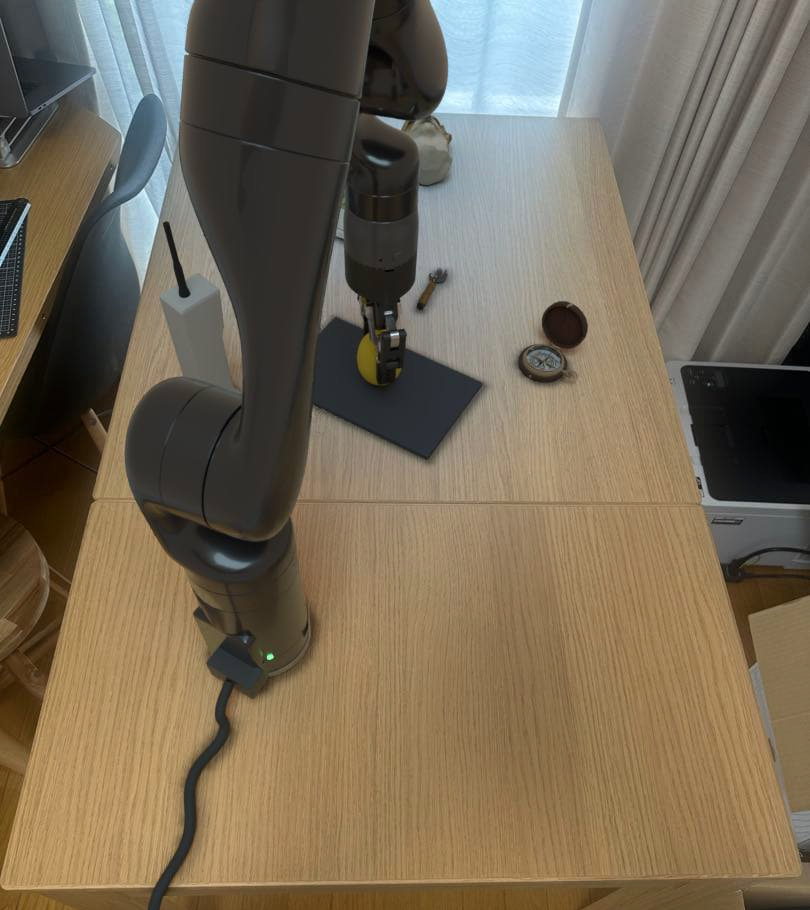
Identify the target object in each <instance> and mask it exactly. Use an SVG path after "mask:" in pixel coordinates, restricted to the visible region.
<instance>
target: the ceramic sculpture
mask: <svg viewBox="0 0 810 910" xmlns="http://www.w3.org/2000/svg"><path fill="white" fill-rule="evenodd" d="M400 130H401V131H403V132H405V133H406V134H408V135H409V136H410V137H412V138H413V139H414V141H415V142H416V144H417V146H418V148H419V152H420V174H419V185H424V186H431V185H433V184H435V183H438V182H440V181H442V180H444V179H445V177H446V176H447V175H448V174H449V172H450V170H451V166H452V163H453V157H452V155H451V153H450V152H449V144H450V143H451V142H452V140H453V138H452V136H453V135H452V134H451V133H449V132H447V131H446V128H445V126H444V124H442V125H441V122H440V120H439V119H438V118H437V117H436V116H435V115H433V114H431V115H429V116H428V117H426V118H424V119H422V120H418V121H406V120H404V122H403V125H402V127H401V129H400Z"/></svg>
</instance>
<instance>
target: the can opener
mask: <svg viewBox="0 0 810 910" xmlns="http://www.w3.org/2000/svg"><path fill="white" fill-rule="evenodd" d="M442 271H443V268H442V267H438V268H437V270H436V272H435V274H434V276H432V275H433V272H430V273H429V274H428V275H427V277H428V279H429V280H430V281H429V282H428V283H427V285H426V287H425V289H424V290H423V292H422V293H421V295H420V296H419V298H418V300H417V302H416V308H417V309H419V310H422V309H424V308H425V306H426V305H427V304H428V301H429V300H430V297H431V295H432V293H433V291H434V290H435V288H436V285H437V283H444V282H445V281H446V280H447V278H448V275H449V273H448V270H447V269H445V270H444V271H443V272H442Z"/></svg>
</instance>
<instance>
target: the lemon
mask: <svg viewBox="0 0 810 910" xmlns="http://www.w3.org/2000/svg"><path fill="white" fill-rule="evenodd" d="M384 331H386V330H375V333H376V334H377V335H378V334H381V333H382V332H384ZM375 357H376V353H375V345H374V344H373V343H372V342H371V340H370V337H369V333H368V334H367V335H365V336H364V338H363V339H362V341H361V342H360V345H359V348H358V352H357V364H358V368H359V371H360V373H361V375H362V376H363V377H364V379H365V380H367V381H368V382H370V383H371V384H374V385H379V384H378V383H377V380H376V360H375ZM400 371H401V368H400V369H396V378H397V376H398V375H399V373H400ZM388 384H389V383H388ZM382 385H386V384H382Z"/></svg>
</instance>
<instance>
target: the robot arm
mask: <svg viewBox="0 0 810 910" xmlns="http://www.w3.org/2000/svg"><path fill="white" fill-rule="evenodd" d="M184 51H185V54H184V55H183V66H182V67H183V68H182V79H181V80H182V81H181V95H180V109H179V122H178V123H179V124H178V157H179V162H180V163H179V164H180V167H181V169H180V170H181V173H182V177H183V181H184V185H185V189H186V192H187V194H188V197H189V201H190V204H191V206H192V208H193V211H194V214H195V216H196V219H197V221H198V224H199V226H200V229H201V231H202V234H203V237H204V239H205V242H206V244H207V246H208V249H209V251H210V254H211V256H212V258H213V261H214V263H215V266H216V268H217V271H218V273H219V275H220V277H221V280H222V282H223V285H224V288H225V291H226V293H227V296H228V299H229V301H230V303H231V307H232V310H233V314H234V317H235V321H236V325H237V329H238V335H239V341H240V342H239V343H240V353H241V369H242V372H241V373H242V375H241V376H242V378H241V379H242V381H241V384H242V388H241V389H242V390H241V393H242V394H239V393H236V392H233V391H230V390H227V389H224V388H221V387H219V386H216V385H213V384H210V383H207V382H204V381H201V380H198V379H195V378H190V377H183V376H172V377H168V378H166V379H163V380H162V381H160V382H158V383H156V384H154V385H153V386H152V387H151V388H150V389H148V391H146V392H145V393H144V395H142V397H141V399H140V400H139V401H138V403H137V405H136V406H135V408H134V410H133V412H132V413H131V417H130V420H129V421H128V425H127V429H126V434H125V442H124V465H125V472H126V478H127V481H128V485H129V488H130V491H131V493H132V496H133V498H134V500H135V502H136V504H137V506H138V508H139V510H140V512H141V514H142V516H143V517H144V519H145V521H146V522H147V524H148V526H149V528H150V530H151V531H152V534H153V535H154V536H155V538H156V540H157V542H158V545H160V547H161V548H162V550H163V551H164V553H165V554H166V555H167V556H168V557H169V558H170V559H172V560H173V562H175V563H176V564H178V565H179V566H181V567H182V568H183V570H184V573H185V576H186V577H187V581H188V582H189V584H190V587H191V588H192V592H193V594H194V596H195V598H196V601H197V603H198V606H197V607H196V608H195V609H194V610H193V612H192V616H193V618H194V621H195V624H196V625H197V627H198V630H199V632H200V634H201V636H202V638H203V641H204V643H205V645H206V647H207V649H208V651H209V653H210V655H211V656H209V658H208V660H207V661H206V662H205V664H206V666H207V668H208V671H209V673H210V675H212V676H214V677H215V678H217V679H218V680H220V681H221V682H223V683H222V685H221V689H220V691H219V693H218V696H217V700H216V702H215V707H214V719H215V721H216V723H217V725H218V726H219V727H218V731H217V734H216V735H215V737H214V739H213V740H212V742H211V743H210V744H209V745H208V746H207V747H206V748H205V749H204V750H203V752H202V753H201V754H200V755H199V756H198V757H197V758H196V760H195V761H194V762H193V763H192V765H191V767H190V769H189V771H188V773H187V776H186V778H185V781H184V782H185V784H184V788H183V811H184V812H183V813H184V814H183V815H184V823H183V830H182V831H183V832H182V835H181V839H180V842H179V843H178V847H177V848H176V851H175V853H174V854H173V856H172V858H171V859H170V861H169V862H168V864H167V865H166V867H165V869H164V870H163V872H162V873H161V875H160V877H159V878H158V880H157V882H156V883H155V885H154V887H153V890H152V892H151V895H150V898H149V901H148V905H147V910H161V905H162V902H163V899H164V896H165V894H166V892H167V889H168V888H169V886H170V885H171V882H172V881H173V879H174V878H175V876H176V875H177V873H178V871H179V870H180V868H181V866H182V865H183V864H184V863H185V862H184V861H185V860H186V858H187V857H188V854H189V852H190V850H191V847H192V844H193V841H194V838H195V834H196V829H197V806H196V789H197V784H198V779H199V777H200V774H201V773H202V772H203V769H204V768H205V767H206V765H207V764H209V762H210V761H211V760H212V759H213V758H214V757H215V755H216V754H218V752H219V751H220V750H221V749H222V747H223V746H224V744H225V743H226V741H227V739H228V736H229V733H230V730H231V724H230V720H229V718H228V716H227V715H226V710H227V705H228V702H229V700H230V697H231V694H232V692H233V689H235V690H236V691H238V692H240V693H241V694H243V695H244V696H246V697H248V698H249V699H250V700H255V698H256V696H257V695H258V694H259V692H260V691H261V689H262V688H263V687H264V686H265V684H266V683H267V682H268V680H269V678H272V677H275V676H279V675H282V674H284V673H286V672H287V671H289V670H290V669H292V668H293V667H294V666H296V665H297V664H298V663H299V662H300V660H302V658H303V657H304V655H305V654H306V652H307V650H308V649H309V646H310V643H311V638H312V625H311V620H310V604H309V603H310V602H309V600H308V601H307V602H306V595H305V590H304V584H303V578H302V571H301V565H300V561H299V560H300V559H299V552H298V546H297V539H296V533H295V526H294V522H293V518H292V514H293V512H294V509H295V506H296V504H297V502H298V499H299V496H300V494H301V489H302V484H303V482H304V477H305V473H306V468H307V462H308V454H309V446H310V440H311V439H310V437H311V431H312V429H311V428H312V421H313V420H312V419H313V409H314V408H313V407H314V404H313V397H314V386H315V375H316V365H317V355H318V345H319V335H320V332H321V326H322V317H323V316H322V315H323V309H324V302H325V298H326V292H327V291H326V290H327V286H328V278H329V272H330V266H331V260H332V256H333V251H334V247H335V246H334V245H335V242H336V241H335V239H336V237H335V235H336V230H337V225H338V220H339V215H340V210H341V205H342V200H343V195H344V190H345V209H344V217H343V232H344V240H343V257H344V259H343V260H344V278H345V282H346V284H347V286H348V287H349V288H350V290H351V291H352V292H354V293H355V294H356V295H357V297H356V300H357V302H358V306H359V310H360V313H359V314H360V316H361V319H362V325H363V326H362V329H363V338H364V336H365V335H367V334H368V333H369V337H370V340H371V342H372V343H373V344H374V345H375V353H376V357H375V360H376V380H377V383H378V384H379V385H382V384H388V383H393V382H394V381H395V379H396V369H400V368H403V365H404V355H405V348H406V345H407V337H408V334H407V331H406V329H405V328H402V324H401V323H402V322H401V316H402V314H403V308H402V299H401V298H402V297H404V296H405V295H406V294H407V293H409V291H411V290H412V288H413V286H414V285H415V282H416V278H417V277H416V276H417V263H418V261H417V260H418V246H419V233H420V231H419V230H420V217H419V187H420V183H419V174H420V152H419V148H418V146H417V144H416V142H415V141H414V139H413V138H412V137H410V136H409V135H408V134H406V133H405V132H403V131H401V129H399V128H396V127H394V126H392V125H390V124H388V123H386V122H384V121H382V120H381V119H380V118H379V117H381V118H388V119H395V120H400V121H418V120H422V119H424V118H426V117H428V116H429V115H433V113H434V112H435V111H436V110H437V109H438V108H439V107H440V105H441V103H442V102H443V99H444V96H445V94H446V91H447V86H448V80H449V57H448V49H447V45H446V40H445V37H444V33H443V30H442V27H441V23H440V22H439V19H438V17H437V15H436V12H435V9H434V7H433V5H432V3H431V0H193V2H192V5H191V8H190V11H189V15H188V19H187V23H186V32H185V42H184ZM375 330H386V331H384V332H382V333H381V334H378V335H377V334H376V333H375ZM307 603H308V604H307ZM307 606H308V607H307Z"/></svg>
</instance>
